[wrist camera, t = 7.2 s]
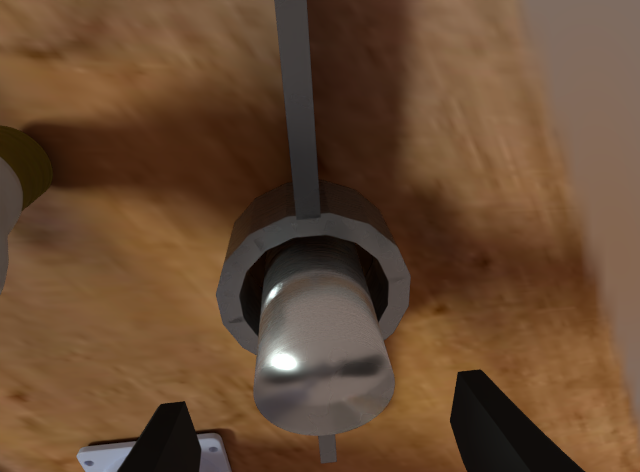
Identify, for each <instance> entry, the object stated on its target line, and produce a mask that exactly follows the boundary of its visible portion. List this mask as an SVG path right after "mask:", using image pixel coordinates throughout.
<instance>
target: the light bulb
mask: <svg viewBox="0 0 640 472" xmlns="http://www.w3.org/2000/svg"><path fill="white" fill-rule="evenodd" d="M52 178H53V170H52V165H51V162H50V159H49V157H48V155H47V154H46V152H45V151H44V149H43V148H42V147H41V146H40V145H39V144H38V143H37V142H36V141H35V140H34V139H32V138H31V137H30V136H28V135H27V134H25V133H23V132H21V131H19V130H17V129H14V128H11V127H7V126H0V294H1V292H2V290H3V287H4V284H5V279H6V274H7V269H8V240H7V237H8V234H9V233H10V231H11V230H12V229H13V227H14V226H15V224H16V222H17V220H18V218H19V216H20V214H21V212H22V211H23V210H24V209H25V208H26V207H28V206H29V205H30V204H31V203H32V202H34V201H35V200H36V199H37V198H38V197H40V196H41V195H42V194H43V193H44V192H46V191H47V189H48V188H49V187H50V184H51V182H52Z"/></svg>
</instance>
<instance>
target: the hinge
mask: <svg viewBox="0 0 640 472" xmlns="http://www.w3.org/2000/svg"><path fill="white" fill-rule="evenodd" d="M274 1H275V11H276V21H277V30H278V40H279V50H280V60H281V70H282V80H283V90H284V100H285V110H286V120H287V130H288V140H289V150H290V160H291V170H292V180H293V183H286V184H284V185H282V186H280V187H278V188H276V189H274V190H272V191H270V192H268V193H266V194H264V195H262V196H260V197H258V198H256V199H255V200H254V201H253V202H252V203H251V204H250V205H249V207H248V208H247V209H246V210H245V211H244V212H243V214H242V215H241V216H240V217H239V218H238V219H237V221H236V222H235V223H234V227H233V231H232V234H231V238H230V242H229V245H228V249H227V253H226V257H225V261H224V265H223V269H222V272H221V276H220V280H219V284H218V288H217V292H216V297H217V301H218V305H219V310H220V314H221V318H222V322H223V325H224V326H225V327H226V328H227V329H228V331H229V332H230V333H231V334H232V335H233V337H234V338H235V339H236V340H237V341H238V343H239V344H240V345H241V346H242V347H243V348H244V349H246V350H248V351H250V352H252V353H253V354H255V355H257V347H258V336H259V326H260V315H261V304H262V293H263V291H262V289H261V288H260V286H259V285H258V284H257V282H256V281H255V279H254V278H253V277H252V275H251V274H250V270H249V268H250V267H251V266H252V265H253V264H254V263H255V262H256V261H257V260H258V258H259V257H260V256H261V255H262V254H263V253H264V252H265V251H266V250H269V249H271V248H273V247H275V246H277V245H279V244H281V243H283V242H286V241H288V240H290V239H292V238H295V237H306V236H317V235H329V236H333V237H337V238H341V239H344V240H348V241H352V242H355V243H357V244H359V245H360V246H361V247H362V248H364V249H365V250H366V251H368V252H369V253H370V254H372V255H373V262H372V264H371V266H370V269H369V271H368V273H367V275H366V277H365V280H366V283H367V287H368V290H369V293H370V297H371V300H372V303H373V307H374V310H375V313H376V317H377V320H378V324H379V327H380V330H381V334H382V337H383V340H385V339H386V338H388V337H389V336H390V335H391V334H393V333H394V331H395V329H396V327H397V326H398V324H399V322H400V320H401V318H402V317H403V315H404V313H405V311H406V310H407V308H408V306H409V292H410V278H411V276H410V273H409V271H408V269H407V267H406V265H405V262H404V260H403V258H402V256H401V254H400V251H399V249H398V247H397V245H396V243H395V241H394V239H393V237H392V235H391V233H390V231H389V229H388V227H387V225H386V223H385V221H384V219H383V217H382V215H381V213H380V211H379V209H377V208H376V207H375V206H374V205H373V204H371V203H370V202H369V201H368V200H367V199H365V198H364V197H363V196H362V195H361V194H359V193H358V192H357V191H356V190H354V189H350V188H347V187H344V186H340V185H337V184H334V183H330V182H327V181H324V180H318V167H317V152H316V137H315V122H314V106H313V91H312V76H311V61H310V45H309V30H308V15H307V0H274ZM318 438H319V448H320V458H321V463H330V462H337V457H336V442H335V434H333V435H320V436H318Z"/></svg>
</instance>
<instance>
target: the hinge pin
mask: <svg viewBox="0 0 640 472" xmlns="http://www.w3.org/2000/svg"><path fill="white" fill-rule="evenodd" d="M394 388H395V379H394V374H393V370H392V367H391V364H390V360H389V357H388V354H387V350H386V347H385V344H384V340H383V337H382V334H381V330H380V327H379V324H378V320H377V317H376V313H375V310H374V307H373V303H372V300H371V297H370V293H369V290H368V287H367V283H366V280H365V277H364V273H363V270H362V267H361V263H360V260H359V256H358V253H357V250H356V246H355V243H354V242H352V241H348V240H344V239H341V238H337V237H333V236H329V235H317V236H306V237H295V238H292V239H290V240H288V241H286V242H283V243H281V244H279V245H277V246H275V247H273V248H271V249H269V250H267V252H266V261H265V272H264V282H263V293H262V304H261V315H260V326H259V336H258V347H257V358H256V369H255V379H254V400H255V403H256V406H257V408H258V409H259V411H260V412H261V414H262V415H263V416H264V417H265V418H266V419H267V420H268V421H270V422H271V423H273V424H274V425H276V426H277V427H280V428H282V429H284V430H287V431H290V432H293V433H297V434H303V435H314V436H320V435H333V434H338V433H343V432H346V431H350V430H352V429H355V428H358V427H360V426H362V425H364V424H366V423H367V422H369V421H371V420H372V419H373V418H375V417H376V416H377V415H379V414H380V413H381V412H382V411H383V410H384V408H385V407H386V406H387V405H388V403H389V401H390V400H391V397H392V395H393V392H394Z"/></svg>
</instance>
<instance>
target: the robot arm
mask: <svg viewBox="0 0 640 472" xmlns="http://www.w3.org/2000/svg"><path fill="white" fill-rule="evenodd" d="M450 423H451V426H452V430H453V433H454V436H455V439H456V442H457V445H458V448H459V451H460V454H461V457H462V460H463V463H464V465H465V468H466V470H467V472H585V471H584V470H583V469H582V468H580V467H579V466H578V465H577V464H576V463H575V462H574V461H573V460H572V459H571V458H569V457H568V456H567V455H566V454H565V453H564V452H563V451H562V450H561V449H560V448H559V447H558V446H557V445H556V444H555V443H554V442H552V441H551V440H550V439H549V438H548V437H547V436H546V435H545V434H544V433H543V432H542V431H541V430H540V429H539V428H538V427H537V426H536V425H535V424H534V423H533V422H532V421H531V420H530V419H529V418H528V417H527V416H526V415H525V414H524V413H523V412H522V411H521V410H520V409H519V408H518V407H517V406H516V405H515V404H514V403H513V402H512V401H511V400H510V399H509V398H508V397H507V396H506V395H505V394H504V393H503V392H502V391H501V390H500V389H499V388H498V387H497V386H496V385H495V383H494V382H493V381H492V380H491V379H490V378H489V377H488V376H487V375H486V374H485V373H484V372H483V371H482V370H471V371H462V372H458V375H457V381H456V387H455V393H454V399H453V405H452V411H451V417H450ZM77 459H78V460H79V462H80V464H81V465H82V467H83V468H84V470H85V471H86V472H232V471H231V467H230V464H229V461H228V458H227V454H226V451H225V448H224V444H223V441H222V438H221V436H220V435H219V434H216V433H206V434H197V435H196V432H195V429H194V426H193V423H192V420H191V417H190V414H189V412H188V409H187V406H186V403H185V401H183V402H174V403H165V404H161V405H160V406H159V407H158V408H157V410H156V411H155V413H154V414H153V416H152V418H151V419H150V421H149V422H148V424H147V426H146V427H145V429H144V430H143V432H142V434H141V435H140V437H139V438H138V440H137V441H132V442H123V443H114V444H105V445H95V446H86V447H83V448H81V449H80V450H79V452H78V454H77Z"/></svg>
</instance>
